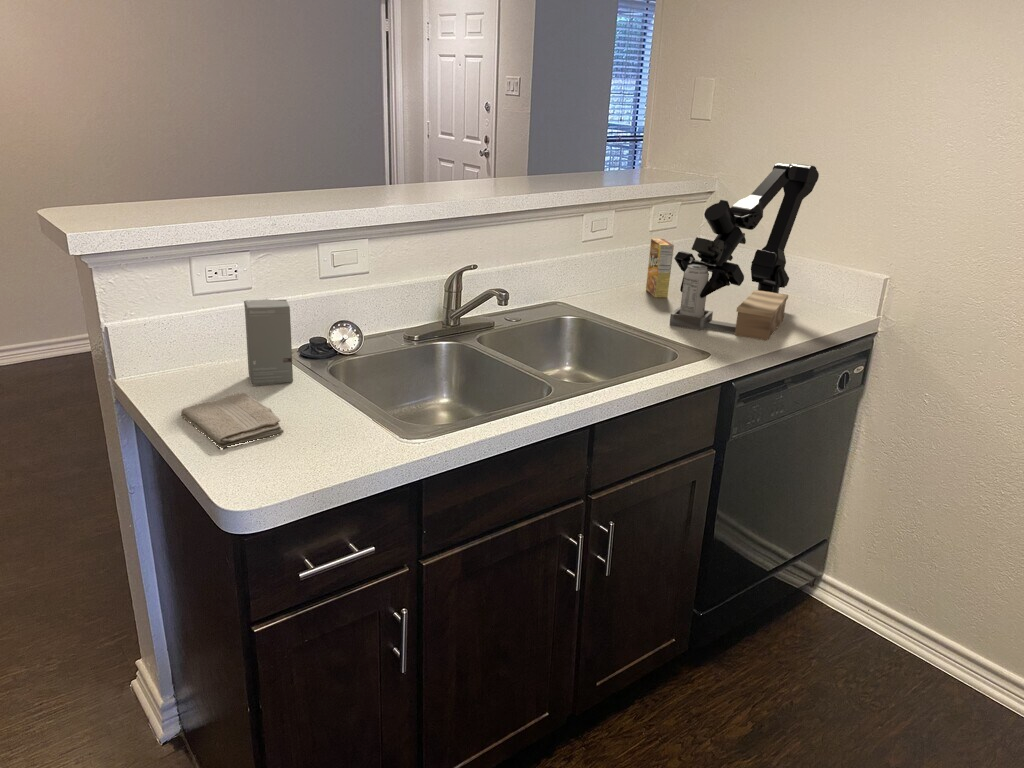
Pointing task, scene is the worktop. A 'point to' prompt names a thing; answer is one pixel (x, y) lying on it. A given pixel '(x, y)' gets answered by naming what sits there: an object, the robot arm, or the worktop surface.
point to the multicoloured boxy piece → (742, 317)
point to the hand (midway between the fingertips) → (690, 294)
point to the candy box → (659, 267)
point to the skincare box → (268, 341)
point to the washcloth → (233, 420)
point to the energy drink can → (694, 291)
